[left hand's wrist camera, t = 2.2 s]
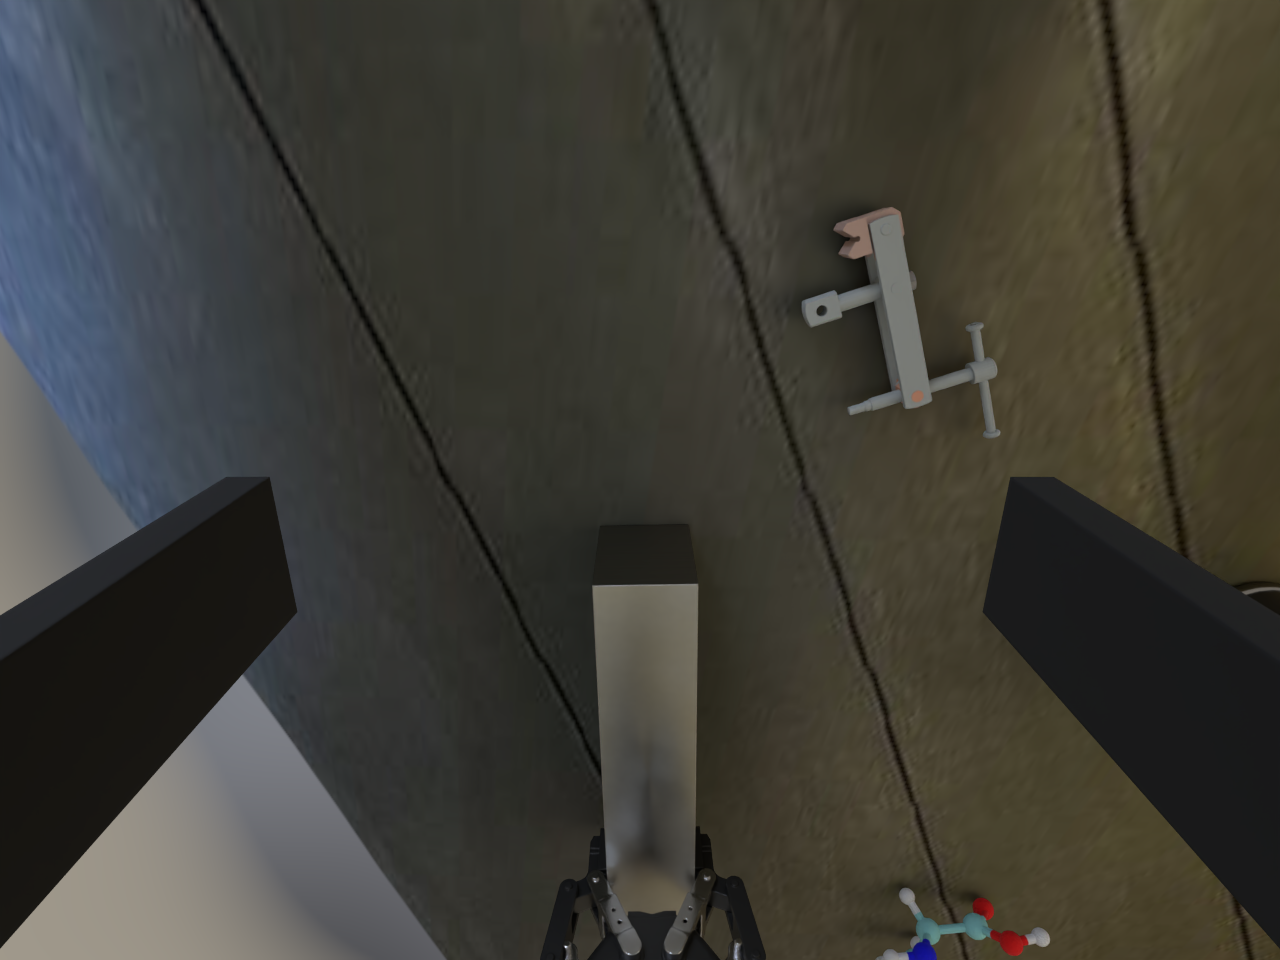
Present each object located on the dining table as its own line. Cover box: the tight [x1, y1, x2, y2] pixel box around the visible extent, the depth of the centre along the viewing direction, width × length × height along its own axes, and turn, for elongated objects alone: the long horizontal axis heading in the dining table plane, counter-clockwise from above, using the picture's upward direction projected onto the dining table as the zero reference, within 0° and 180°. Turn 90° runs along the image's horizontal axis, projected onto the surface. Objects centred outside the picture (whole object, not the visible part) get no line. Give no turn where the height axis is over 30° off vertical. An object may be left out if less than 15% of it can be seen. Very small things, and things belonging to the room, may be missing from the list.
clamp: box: [802, 207, 1001, 438], centre depth 40 cm, size 15×2×10 cm
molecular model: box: [876, 888, 1050, 960], centre depth 54 cm, size 12×10×10 cm
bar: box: [592, 525, 698, 916], centre depth 47 cm, size 27×6×8 cm, turn 1°
